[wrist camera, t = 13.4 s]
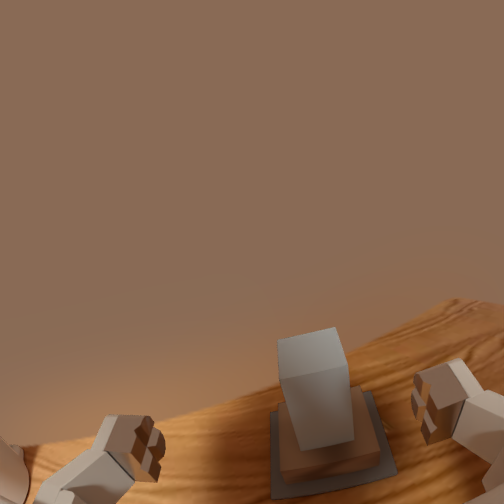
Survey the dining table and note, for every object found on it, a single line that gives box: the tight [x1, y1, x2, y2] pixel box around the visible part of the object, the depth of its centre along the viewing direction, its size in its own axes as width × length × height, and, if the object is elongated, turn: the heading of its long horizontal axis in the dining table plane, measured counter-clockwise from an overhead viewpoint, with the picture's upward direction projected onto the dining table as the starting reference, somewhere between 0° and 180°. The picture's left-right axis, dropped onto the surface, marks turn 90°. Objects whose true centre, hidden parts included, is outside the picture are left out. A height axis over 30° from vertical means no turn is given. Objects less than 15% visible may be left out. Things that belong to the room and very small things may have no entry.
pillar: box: [277, 327, 354, 451], centre depth 25 cm, size 5×5×10 cm
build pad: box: [270, 391, 398, 500], centre depth 28 cm, size 12×12×1 cm
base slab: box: [278, 386, 380, 485], centre depth 27 cm, size 9×9×3 cm
